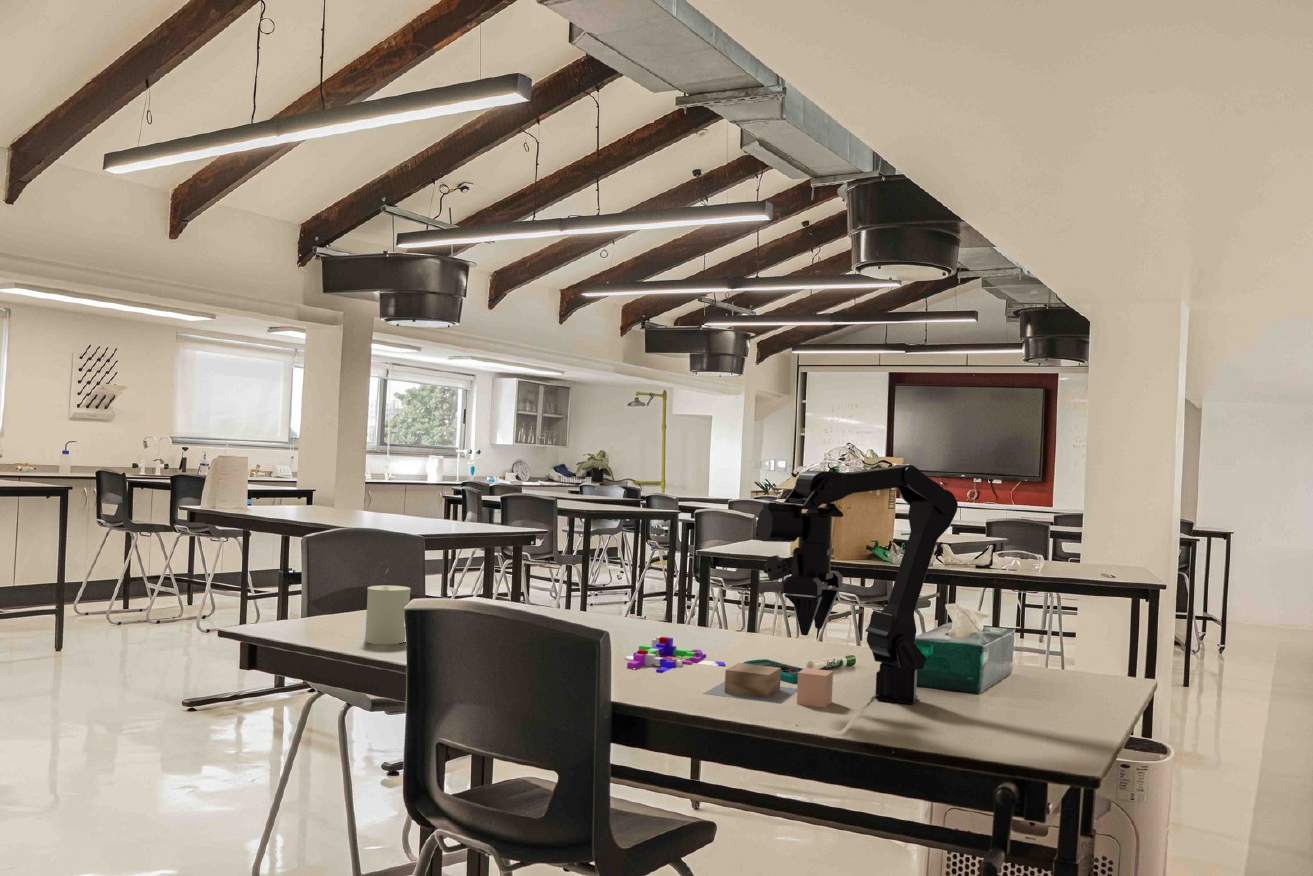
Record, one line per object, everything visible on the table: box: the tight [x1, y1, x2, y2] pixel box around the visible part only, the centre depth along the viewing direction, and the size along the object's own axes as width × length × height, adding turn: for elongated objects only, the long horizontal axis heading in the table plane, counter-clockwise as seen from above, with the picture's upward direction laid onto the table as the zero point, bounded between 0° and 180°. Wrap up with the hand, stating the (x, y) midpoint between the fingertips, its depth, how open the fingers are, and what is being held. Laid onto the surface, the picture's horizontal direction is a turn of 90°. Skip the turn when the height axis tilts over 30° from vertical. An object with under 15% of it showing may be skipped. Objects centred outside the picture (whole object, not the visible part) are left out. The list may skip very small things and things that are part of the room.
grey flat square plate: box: [702, 681, 797, 704], centre depth 186 cm, size 14×14×1 cm
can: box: [363, 584, 412, 646], centre depth 223 cm, size 9×9×12 cm
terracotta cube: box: [796, 667, 834, 708], centre depth 178 cm, size 5×5×6 cm
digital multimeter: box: [742, 658, 804, 684], centre depth 202 cm, size 7×15×3 cm, turn 39°
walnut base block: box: [724, 662, 781, 698], centre depth 186 cm, size 8×8×4 cm
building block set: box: [624, 635, 726, 673], centre depth 215 cm, size 25×20×4 cm
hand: (811, 631), depth 180 cm, fingers open, 9 cm apart
